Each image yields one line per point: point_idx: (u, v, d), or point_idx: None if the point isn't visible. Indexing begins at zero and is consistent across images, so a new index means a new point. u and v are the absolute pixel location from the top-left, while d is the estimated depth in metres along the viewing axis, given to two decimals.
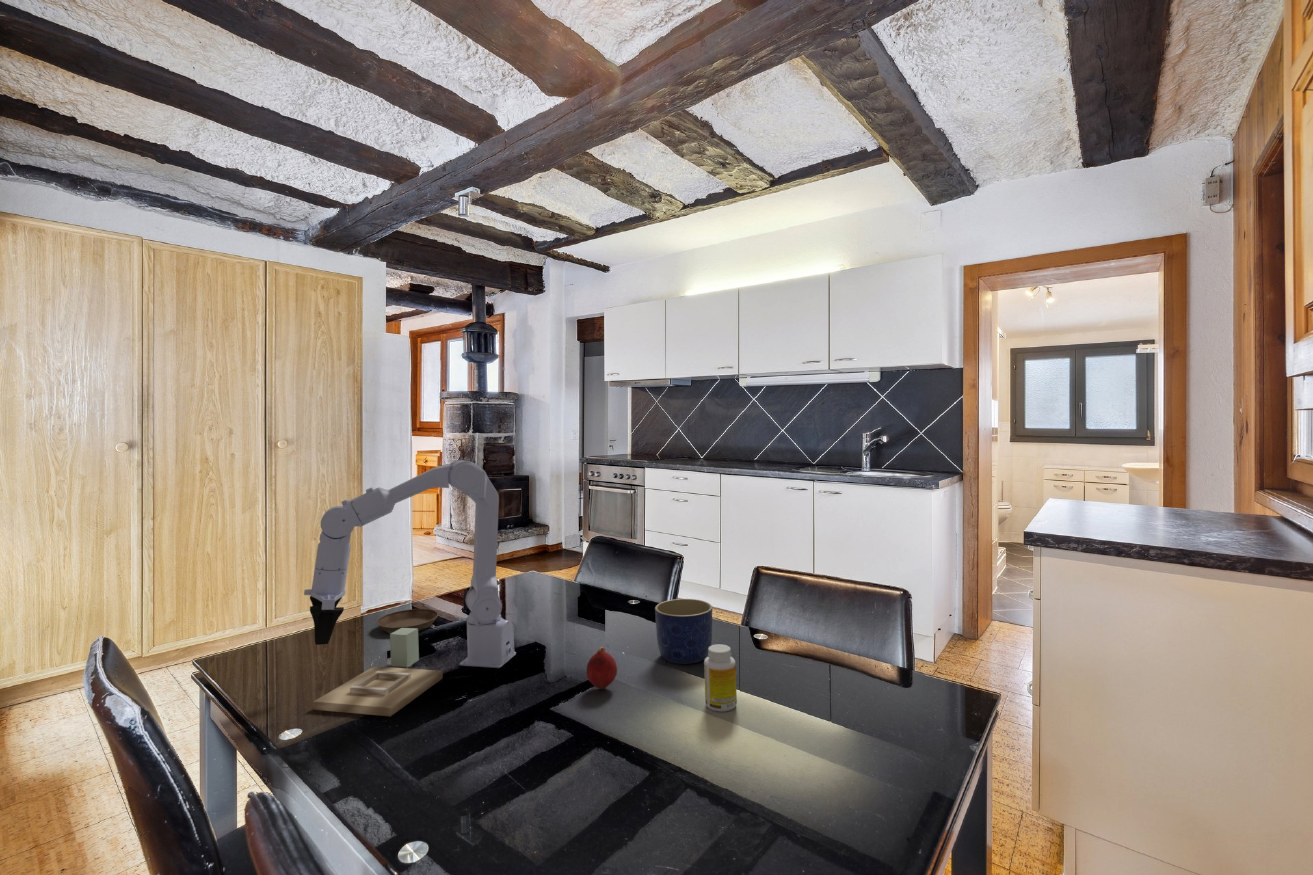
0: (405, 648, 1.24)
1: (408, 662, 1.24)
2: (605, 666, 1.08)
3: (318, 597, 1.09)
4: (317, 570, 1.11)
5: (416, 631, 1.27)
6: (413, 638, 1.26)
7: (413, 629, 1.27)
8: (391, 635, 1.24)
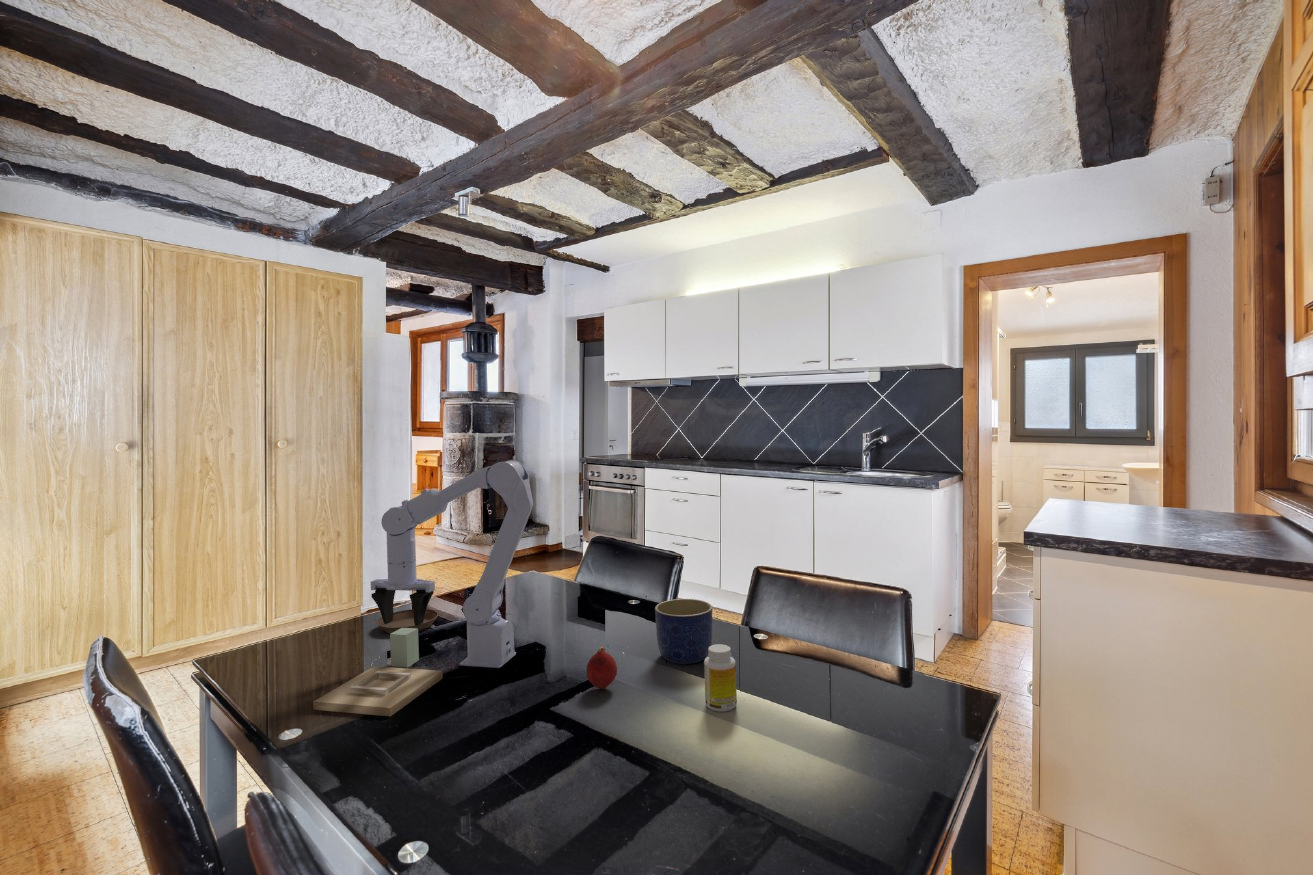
0: (405, 648, 1.24)
1: (408, 662, 1.24)
2: (605, 666, 1.08)
3: (415, 585, 1.23)
4: (401, 564, 1.23)
5: (416, 631, 1.27)
6: (413, 638, 1.26)
7: (413, 629, 1.27)
8: (391, 635, 1.24)
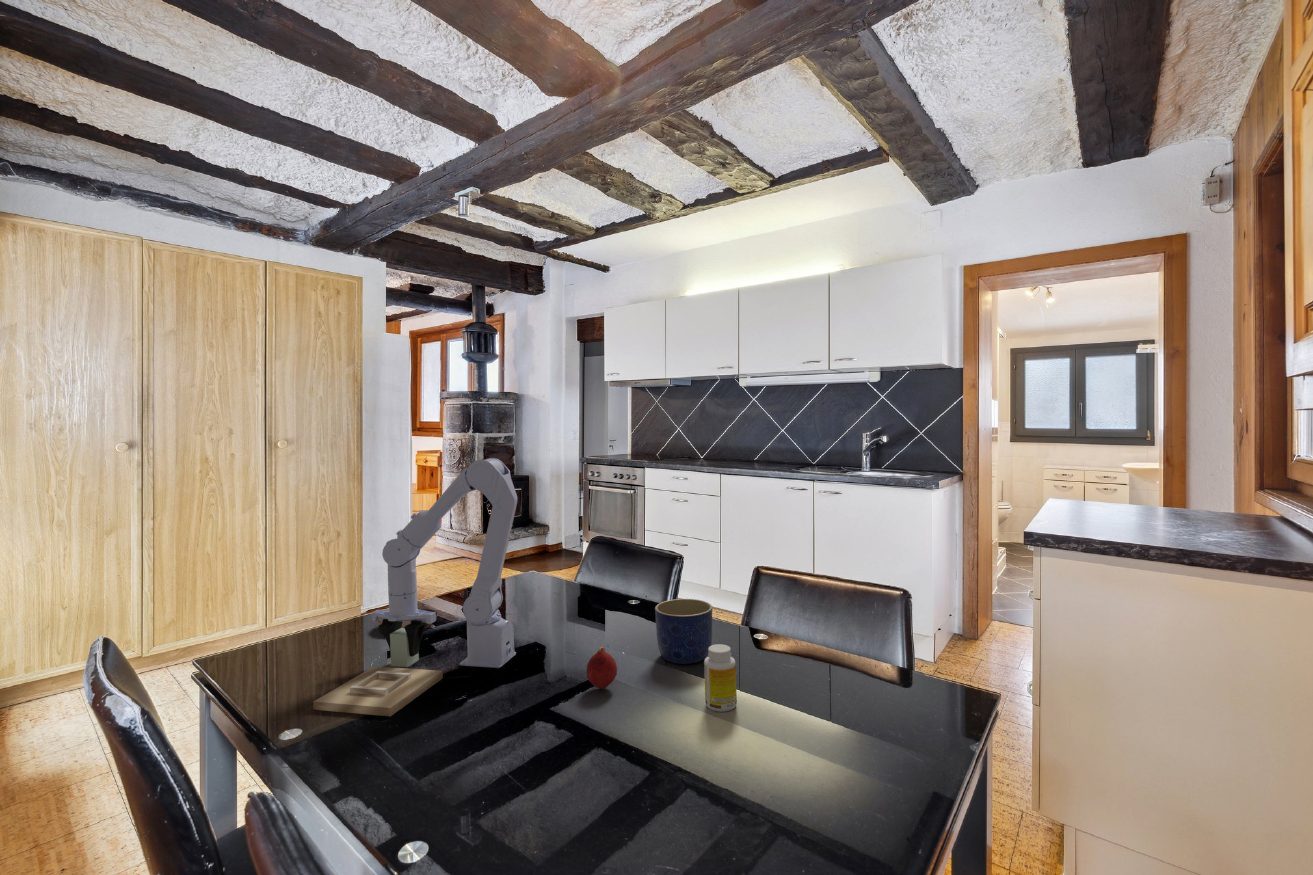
0: (405, 648, 1.24)
1: (408, 662, 1.24)
2: (605, 666, 1.08)
3: (416, 616, 1.23)
4: (402, 596, 1.23)
5: None
6: None
7: None
8: (391, 635, 1.24)
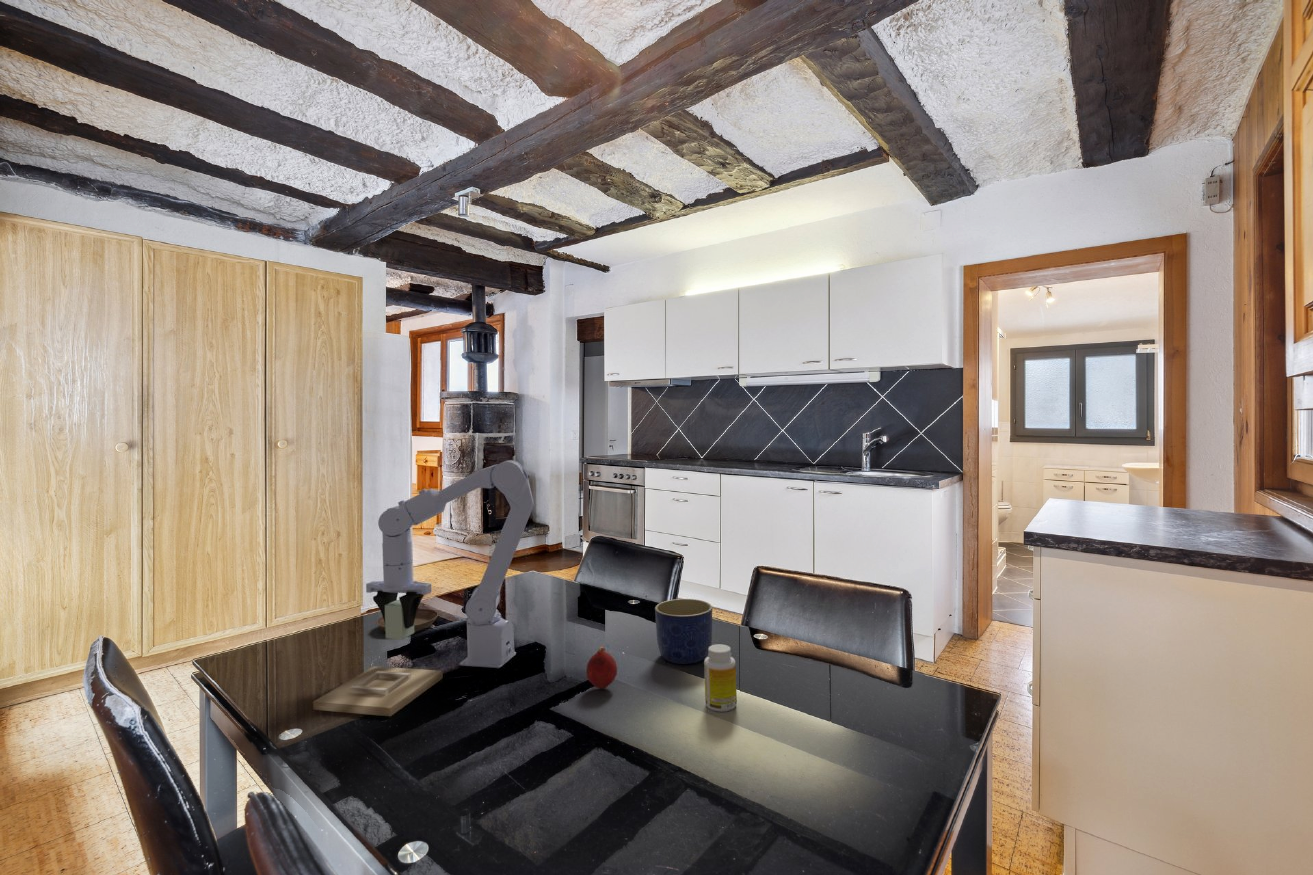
0: (400, 620, 1.21)
1: (403, 634, 1.21)
2: (605, 666, 1.08)
3: (411, 587, 1.21)
4: (396, 566, 1.21)
5: None
6: None
7: None
8: (386, 606, 1.22)
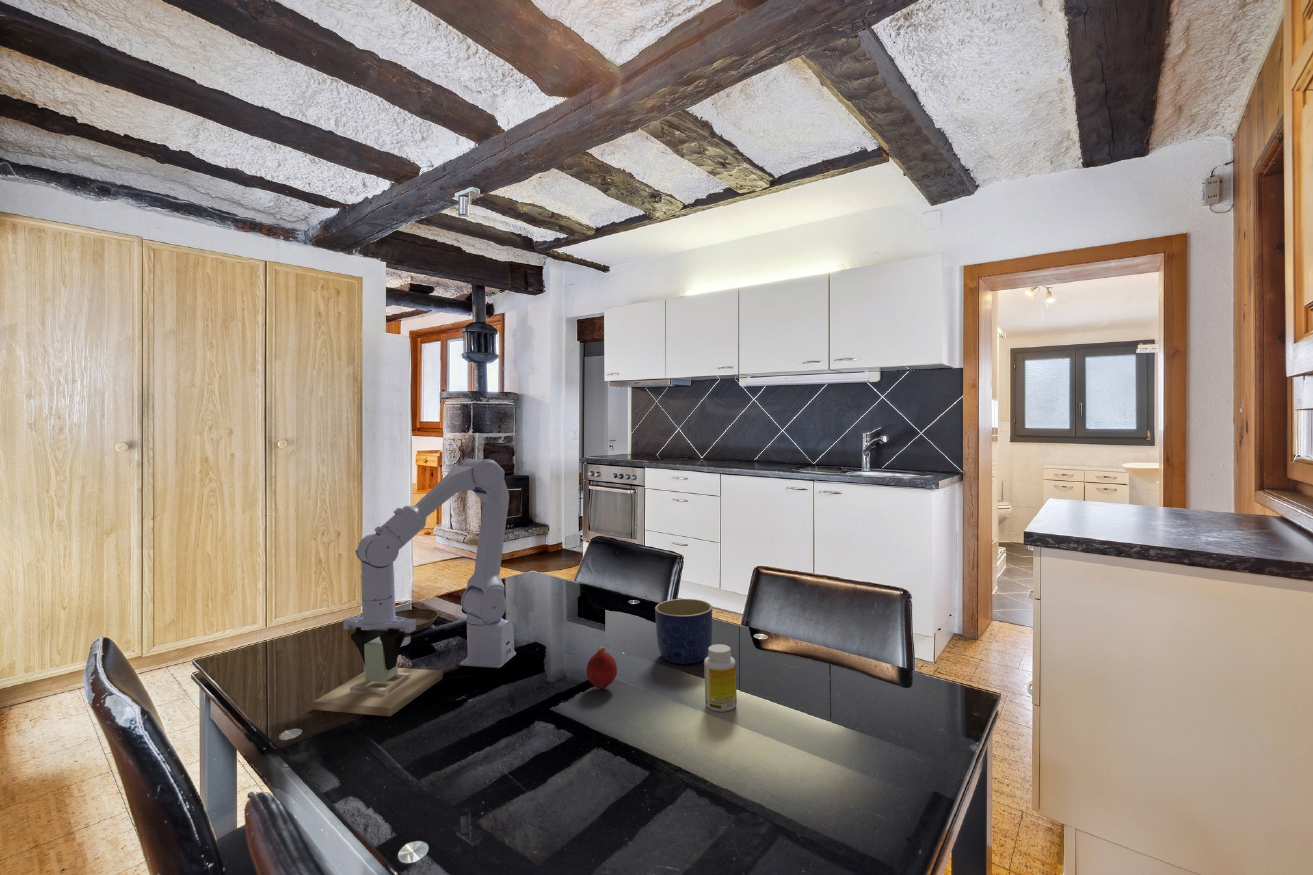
0: (381, 660, 1.09)
1: (385, 676, 1.10)
2: (605, 666, 1.08)
3: (393, 625, 1.09)
4: (377, 602, 1.09)
5: None
6: None
7: None
8: (365, 646, 1.10)
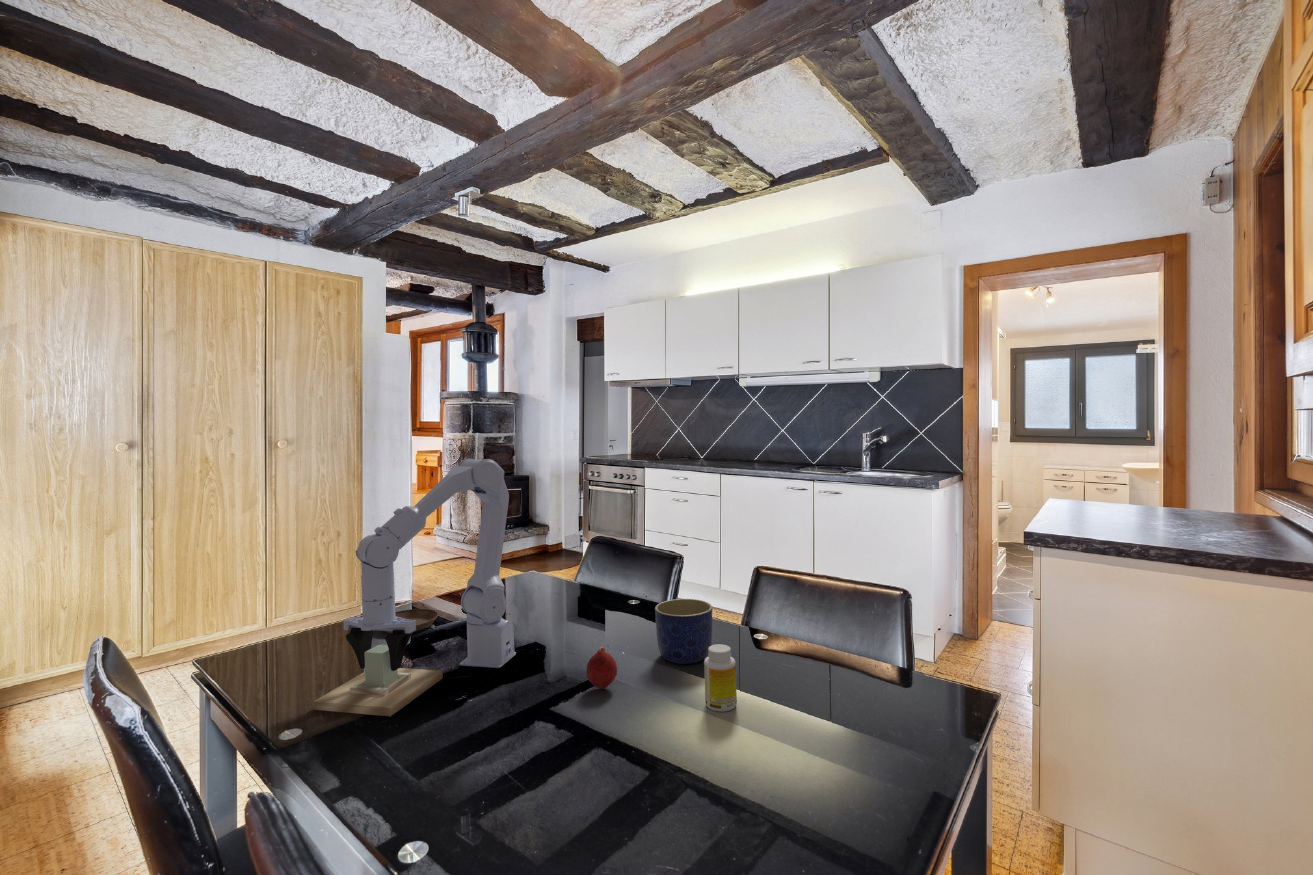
0: (381, 668, 1.09)
1: (385, 684, 1.09)
2: (605, 666, 1.08)
3: (393, 625, 1.09)
4: (377, 602, 1.09)
5: None
6: None
7: None
8: (366, 653, 1.10)
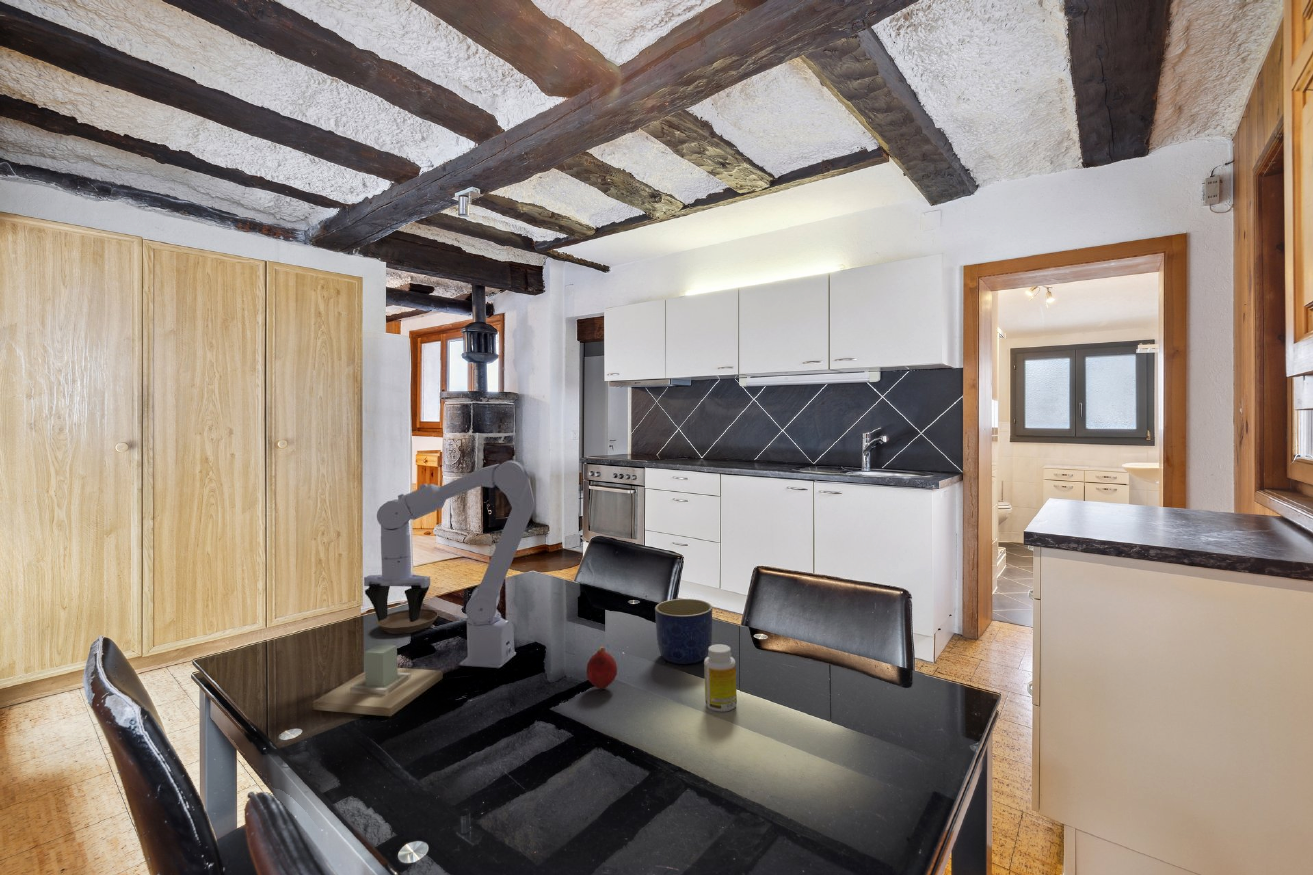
0: (381, 668, 1.09)
1: (385, 684, 1.09)
2: (605, 666, 1.08)
3: (410, 580, 1.20)
4: (395, 560, 1.20)
5: (395, 649, 1.12)
6: (390, 657, 1.11)
7: (391, 646, 1.12)
8: (366, 653, 1.10)
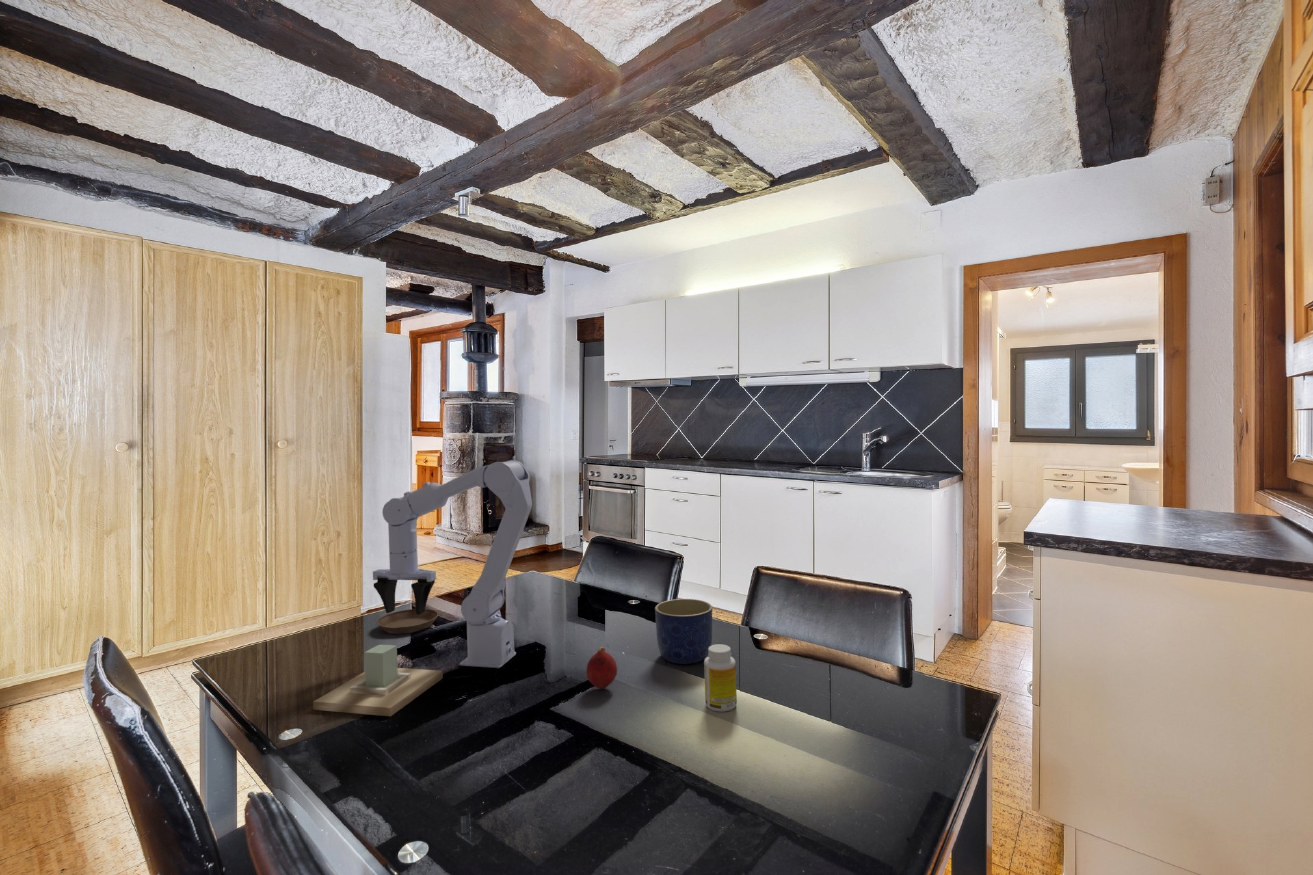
0: (381, 668, 1.09)
1: (385, 684, 1.09)
2: (605, 666, 1.08)
3: (416, 574, 1.26)
4: (402, 554, 1.25)
5: (395, 649, 1.12)
6: (390, 657, 1.11)
7: (391, 646, 1.12)
8: (366, 653, 1.10)
